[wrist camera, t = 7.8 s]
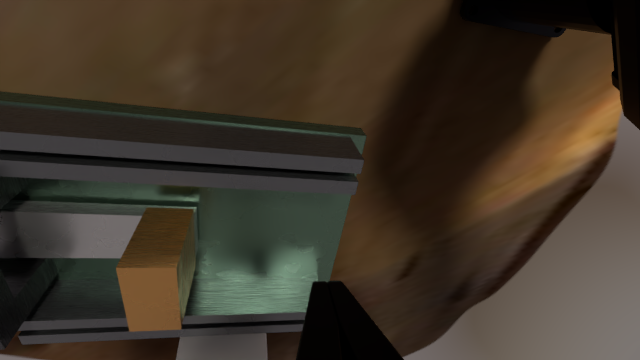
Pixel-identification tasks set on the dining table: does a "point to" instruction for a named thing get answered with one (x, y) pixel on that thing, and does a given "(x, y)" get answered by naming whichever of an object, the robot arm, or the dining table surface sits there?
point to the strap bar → (115, 249)
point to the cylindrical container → (223, 347)
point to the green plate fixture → (183, 191)
